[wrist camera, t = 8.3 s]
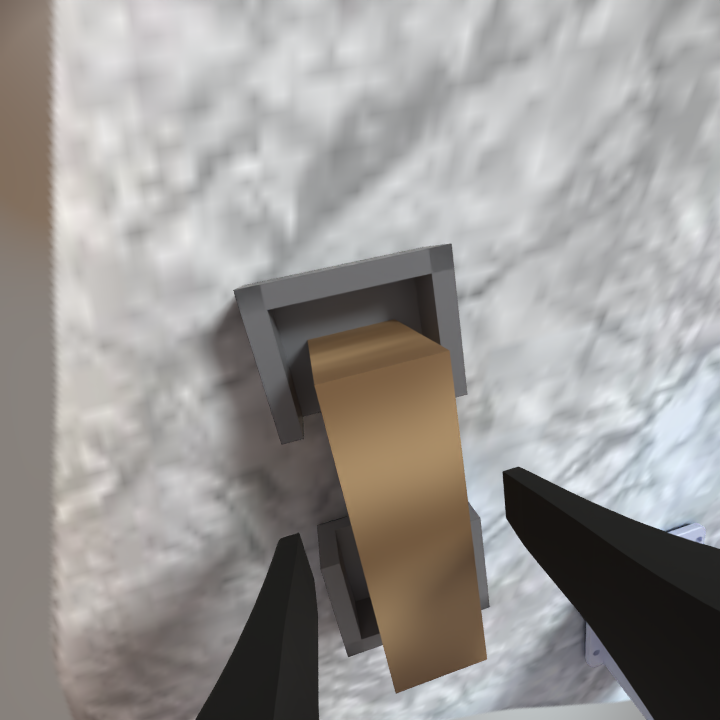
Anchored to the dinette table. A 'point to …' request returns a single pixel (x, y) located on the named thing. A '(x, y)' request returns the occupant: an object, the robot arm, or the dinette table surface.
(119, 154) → the dinette table surface
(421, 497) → the brown wooden block
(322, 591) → the dinette table surface
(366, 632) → the end caps
